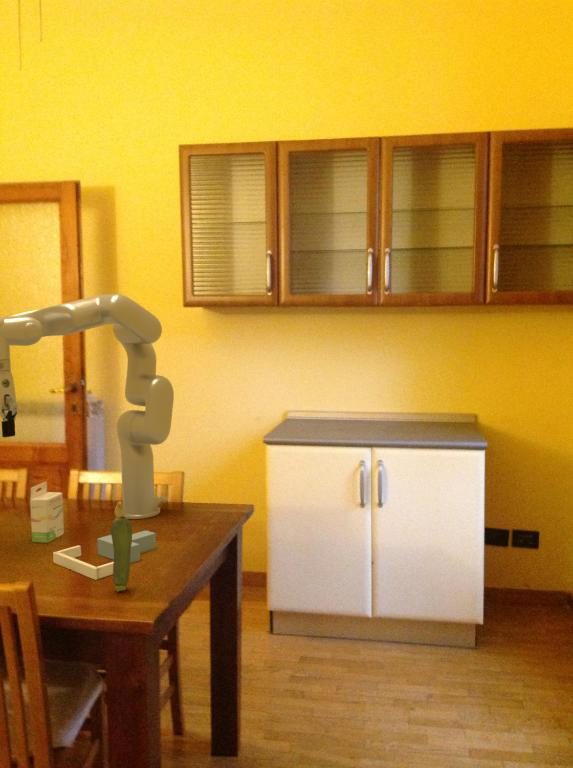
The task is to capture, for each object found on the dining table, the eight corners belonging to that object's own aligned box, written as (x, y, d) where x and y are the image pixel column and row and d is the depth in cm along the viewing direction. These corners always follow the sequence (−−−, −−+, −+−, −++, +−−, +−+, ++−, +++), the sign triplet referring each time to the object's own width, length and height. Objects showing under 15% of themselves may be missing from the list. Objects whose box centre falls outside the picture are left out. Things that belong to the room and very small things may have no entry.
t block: (137, 542, 183) (136, 527, 183) (165, 551, 175) (165, 536, 175) (97, 554, 174) (97, 538, 174) (126, 564, 166) (125, 548, 166)
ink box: (48, 543, 183) (45, 488, 182) (31, 542, 184) (28, 488, 183) (65, 533, 192) (62, 481, 190) (48, 532, 193) (46, 480, 191)
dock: (79, 555, 173) (78, 545, 173) (121, 571, 162) (121, 560, 161) (53, 562, 168) (53, 552, 168) (95, 579, 156) (95, 569, 156)
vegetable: (115, 586, 152) (111, 497, 150) (135, 585, 152) (131, 496, 151) (111, 594, 148) (108, 502, 146) (132, 593, 148) (129, 502, 146)
